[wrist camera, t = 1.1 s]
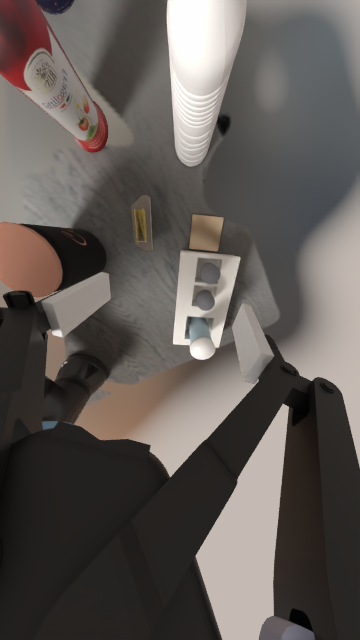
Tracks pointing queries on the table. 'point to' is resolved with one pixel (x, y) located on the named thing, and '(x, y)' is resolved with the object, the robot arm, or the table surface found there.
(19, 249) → the coffee jar
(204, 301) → the button
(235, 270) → the housing
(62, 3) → the storage jar
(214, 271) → the button
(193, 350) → the cartridge
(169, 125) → the table surface
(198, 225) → the coaster
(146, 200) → the platform
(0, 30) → the liquor
